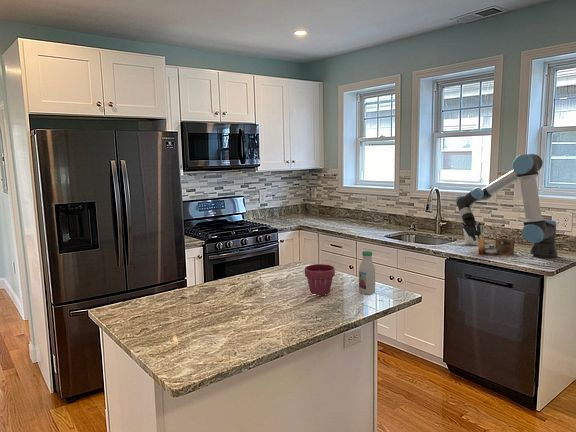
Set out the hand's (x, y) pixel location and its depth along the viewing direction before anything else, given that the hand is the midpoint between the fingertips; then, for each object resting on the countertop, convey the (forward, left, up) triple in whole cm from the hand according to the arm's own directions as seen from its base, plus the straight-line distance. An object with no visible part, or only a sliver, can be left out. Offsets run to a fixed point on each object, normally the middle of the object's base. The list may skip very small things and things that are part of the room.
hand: (478, 244), depth 285 cm
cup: (+14, -29, -7) cm, 33 cm away
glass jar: (+14, -43, -7) cm, 45 cm away
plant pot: (+33, +127, -7) cm, 132 cm away
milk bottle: (+16, +112, -7) cm, 114 cm away
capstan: (-6, -2, -5) cm, 8 cm away
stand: (-7, -3, -7) cm, 10 cm away
